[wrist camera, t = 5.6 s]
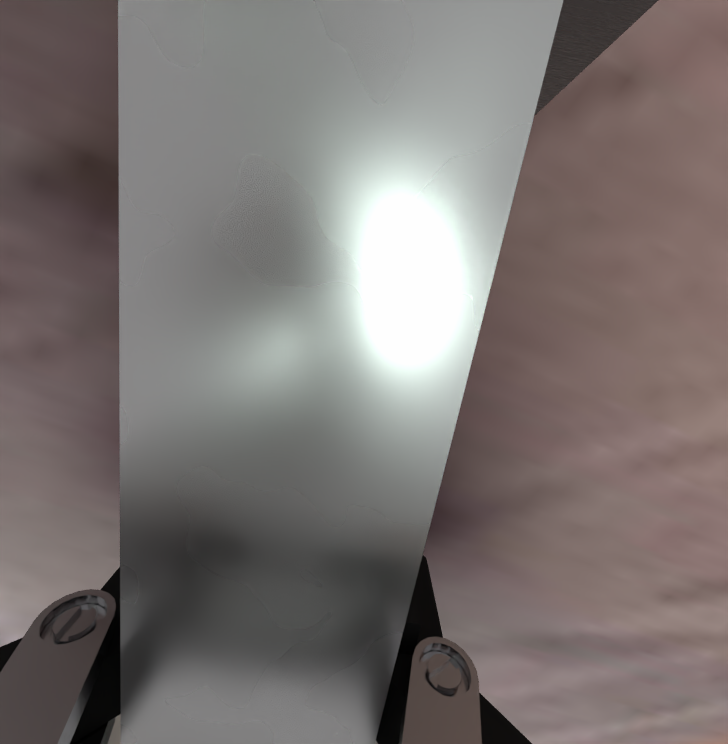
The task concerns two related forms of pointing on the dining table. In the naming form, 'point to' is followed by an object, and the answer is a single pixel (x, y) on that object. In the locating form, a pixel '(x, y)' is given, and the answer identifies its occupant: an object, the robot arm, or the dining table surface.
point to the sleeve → (585, 38)
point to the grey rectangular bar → (298, 338)
